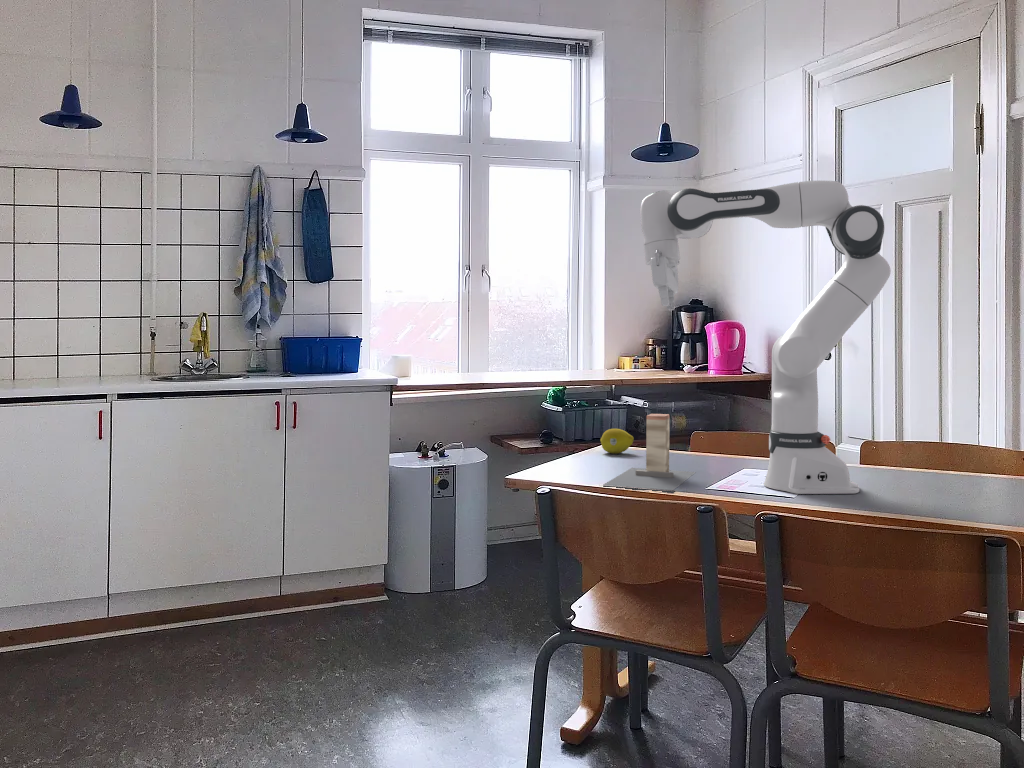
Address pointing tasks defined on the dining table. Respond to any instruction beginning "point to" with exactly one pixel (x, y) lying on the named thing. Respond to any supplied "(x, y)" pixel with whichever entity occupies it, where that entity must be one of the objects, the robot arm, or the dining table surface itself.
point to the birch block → (657, 442)
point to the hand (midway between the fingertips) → (668, 307)
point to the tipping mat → (650, 480)
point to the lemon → (616, 441)
